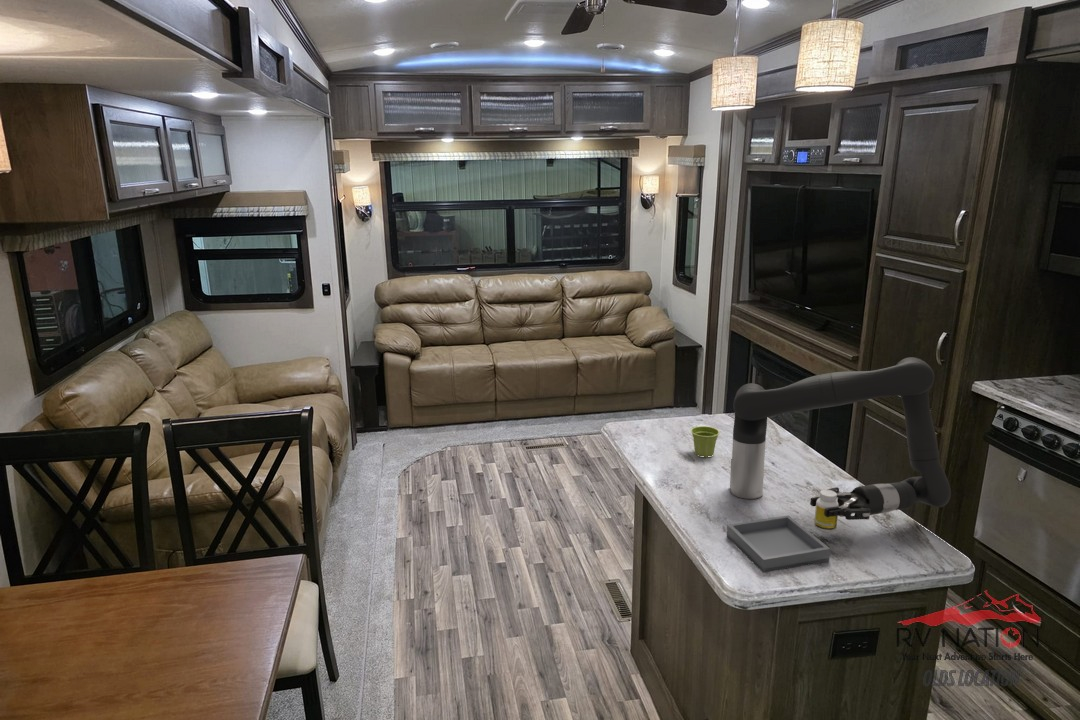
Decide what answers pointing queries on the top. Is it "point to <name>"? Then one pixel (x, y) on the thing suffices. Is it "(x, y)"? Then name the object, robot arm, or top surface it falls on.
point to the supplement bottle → (822, 503)
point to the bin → (777, 543)
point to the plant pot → (704, 440)
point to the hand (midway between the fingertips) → (818, 507)
